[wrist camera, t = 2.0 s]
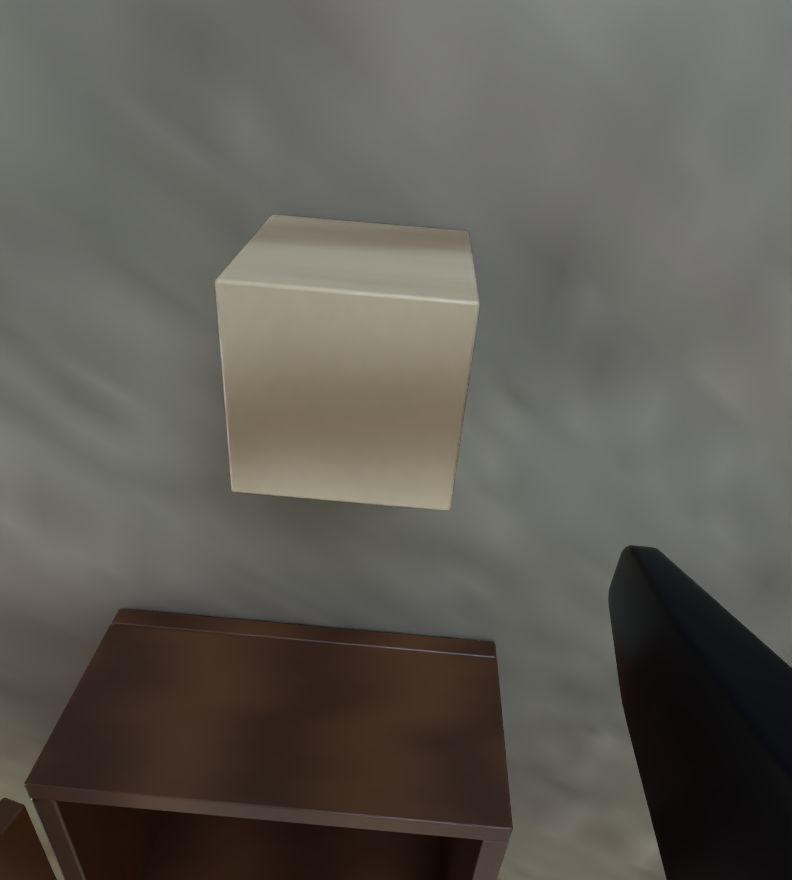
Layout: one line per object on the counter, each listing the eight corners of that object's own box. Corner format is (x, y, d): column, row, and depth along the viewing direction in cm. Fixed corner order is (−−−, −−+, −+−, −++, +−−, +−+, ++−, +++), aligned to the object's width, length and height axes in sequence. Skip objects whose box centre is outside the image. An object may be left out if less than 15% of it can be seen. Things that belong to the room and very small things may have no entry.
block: (270, 213, 15) (213, 279, 11) (470, 230, 15) (480, 302, 11) (276, 389, 18) (230, 493, 14) (447, 404, 18) (450, 512, 14)
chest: (495, 641, 22) (513, 829, 17) (455, 818, 29) (460, 997, 23) (119, 607, 22) (22, 784, 17) (160, 791, 29) (98, 964, 23)
